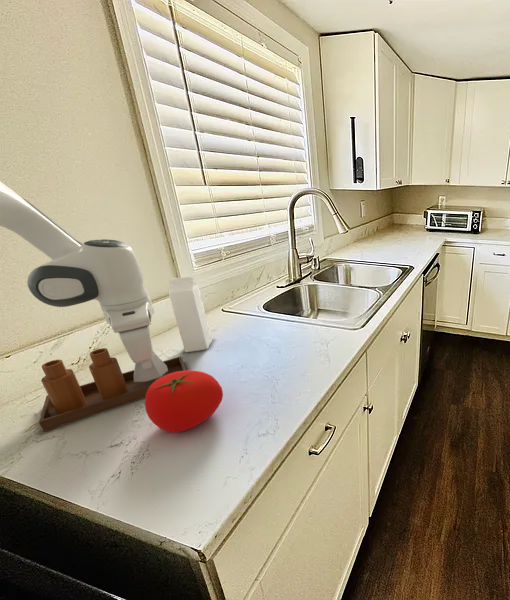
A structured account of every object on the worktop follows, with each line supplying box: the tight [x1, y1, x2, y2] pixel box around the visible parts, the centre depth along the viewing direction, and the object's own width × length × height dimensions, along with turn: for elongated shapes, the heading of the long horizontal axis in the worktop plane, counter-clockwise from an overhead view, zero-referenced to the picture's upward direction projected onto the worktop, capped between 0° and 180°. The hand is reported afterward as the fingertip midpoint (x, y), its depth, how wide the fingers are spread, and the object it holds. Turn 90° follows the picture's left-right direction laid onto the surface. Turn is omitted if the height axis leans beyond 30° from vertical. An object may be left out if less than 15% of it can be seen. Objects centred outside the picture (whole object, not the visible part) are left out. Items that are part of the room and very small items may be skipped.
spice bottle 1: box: [40, 359, 87, 414], centre depth 71 cm, size 5×5×12 cm
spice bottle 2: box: [88, 347, 128, 400], centre depth 75 cm, size 5×5×12 cm
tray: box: [38, 355, 187, 432], centre depth 78 cm, size 26×11×2 cm, turn 130°
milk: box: [168, 276, 213, 353], centre depth 96 cm, size 6×6×22 cm
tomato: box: [144, 369, 224, 434], centre depth 67 cm, size 12×14×11 cm
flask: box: [133, 351, 168, 382], centre depth 79 cm, size 7×7×10 cm
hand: (146, 362), depth 80 cm, fingers closed on flask, 5 cm apart
